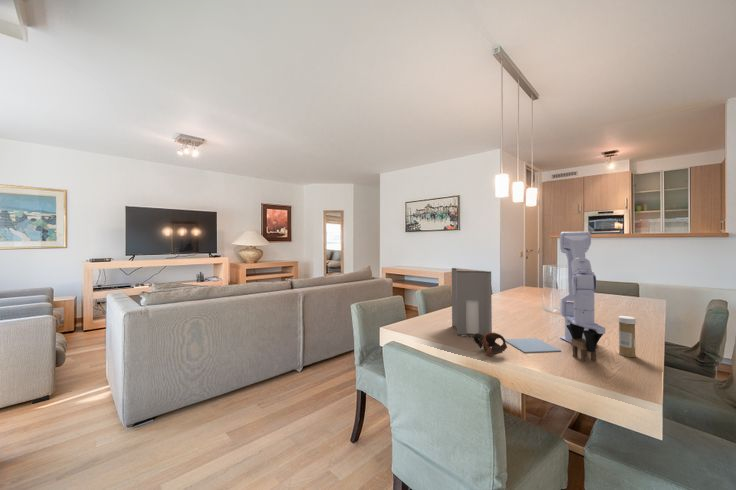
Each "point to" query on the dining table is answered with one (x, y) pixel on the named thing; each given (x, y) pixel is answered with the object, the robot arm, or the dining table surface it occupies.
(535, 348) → the felt mat
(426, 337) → the dining table surface
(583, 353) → the walnut stool
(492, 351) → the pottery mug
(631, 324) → the sprinkles bottle
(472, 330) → the cabinet
